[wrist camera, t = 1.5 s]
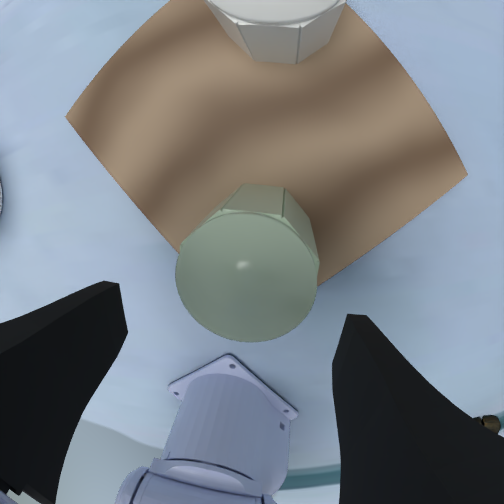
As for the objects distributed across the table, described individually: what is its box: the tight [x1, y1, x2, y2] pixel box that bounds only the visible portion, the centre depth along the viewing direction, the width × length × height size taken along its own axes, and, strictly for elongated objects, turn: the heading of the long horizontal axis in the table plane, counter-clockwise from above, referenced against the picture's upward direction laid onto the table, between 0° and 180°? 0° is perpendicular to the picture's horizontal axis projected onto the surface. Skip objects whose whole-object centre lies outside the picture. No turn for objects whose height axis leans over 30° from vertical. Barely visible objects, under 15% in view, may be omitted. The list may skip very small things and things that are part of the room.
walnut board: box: [65, 0, 468, 286], centre depth 15 cm, size 20×18×1 cm
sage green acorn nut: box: [175, 183, 320, 342], centre depth 15 cm, size 6×6×7 cm
